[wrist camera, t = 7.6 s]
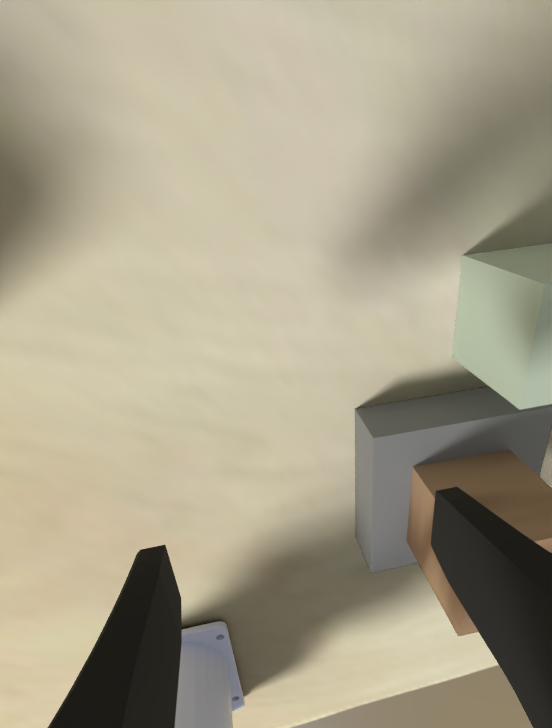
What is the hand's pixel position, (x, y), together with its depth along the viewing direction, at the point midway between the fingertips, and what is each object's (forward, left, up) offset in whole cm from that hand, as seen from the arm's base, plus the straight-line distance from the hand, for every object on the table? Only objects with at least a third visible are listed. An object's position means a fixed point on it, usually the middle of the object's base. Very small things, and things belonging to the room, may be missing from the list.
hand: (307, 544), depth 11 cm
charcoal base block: (-7, -9, -10) cm, 15 cm away
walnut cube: (-7, -9, -7) cm, 13 cm away
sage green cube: (+2, -12, -10) cm, 15 cm away
